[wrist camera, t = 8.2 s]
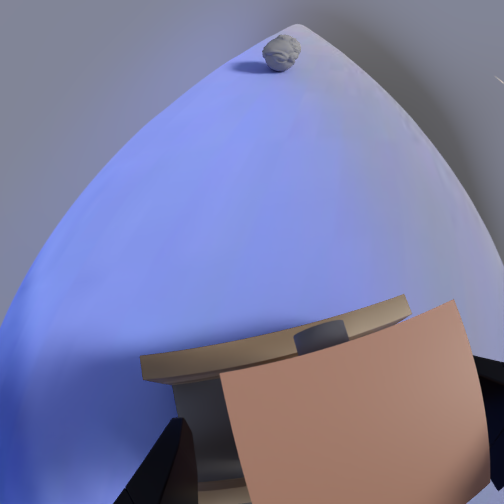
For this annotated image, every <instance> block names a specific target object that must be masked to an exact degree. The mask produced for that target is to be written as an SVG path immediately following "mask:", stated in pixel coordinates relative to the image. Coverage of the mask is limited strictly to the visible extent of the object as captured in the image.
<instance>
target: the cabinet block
mask: <svg viewBox="0 0 504 504" xmlns="http://www.w3.org/2000/svg"><path fill="white" fill-rule="evenodd" d="M293 338H294V342H295V345H296V349H297V353H298V356H297V357H293V358H289V359H285V360H281V361H277V362H273V363H269V364H264V365H260V366H255V367H250V368H245V369H240V370H235V371H230V372H224V373H220V378H221V383H222V387H223V392H224V397H225V401H226V406H227V410H228V414H229V419H230V423H231V427H232V431H233V435H234V439H235V443H236V447H237V451H238V455H239V459H240V463H241V466H242V470H243V474H244V477H245V481H246V484H247V488H248V491H249V495H250V498H251V501H252V504H466V503H467V502H468V501H470V500H471V499H472V498H473V497H474V496H476V495H477V494H478V493H479V492H480V491H481V490H482V489H484V488H485V487H486V486H487V485H488V484H489V483H490V452H489V439H488V429H487V421H486V414H485V408H484V402H483V397H482V392H481V387H480V382H479V378H478V374H477V369H476V365H475V362H474V358H473V354H472V351H471V347H470V344H469V341H468V338H467V334H466V331H465V328H464V325H463V323H462V320H461V317H460V314H459V311H458V309H457V306H456V303H455V301H454V299H453V300H451V301H449V302H447V303H445V304H442V305H440V306H438V307H436V308H434V309H432V310H429V311H427V312H425V313H422V314H420V315H418V316H415V317H413V318H411V319H408V320H406V321H403V322H401V323H398V324H396V325H393V326H391V327H388V328H385V329H383V330H380V331H377V332H375V333H372V334H369V335H366V336H363V337H360V338H357V339H354V340H351V341H350V340H349V337H348V334H347V331H346V328H345V325H344V321H343V320H334V321H330V322H326V323H322V324H319V325H316V326H313V327H310V328H308V329H305V330H303V331H301V332H299V333H297V334H295V335H294V336H293Z"/></svg>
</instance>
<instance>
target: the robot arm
mask: <svg viewBox="0 0 504 504" xmlns="http://www.w3.org/2000/svg"><path fill="white" fill-rule="evenodd" d="M473 358H474V362H475V365H476V369H477V374H478V378H479V382H480V387H481V392H482V397H483V402H484V408H485V414H486V421H487V429H488V439H489V452H490V479H491V481H492V482H493V484H494V486H495V487H496V489H497V490H498V491H499V490H501V489H502V488H503V487H504V362H499V361H495V360H491V359H486V358H482V357H478V356H474V355H473ZM113 504H198V472H197V464H196V457H195V449H194V441H193V434H192V431H191V429H190V427H189V425H188V424H187V422H186V420H185V418H183V417H179V418H172V419H171V420H170V422H169V424H168V425H167V427H166V428H165V430H164V431H163V433H162V434H161V436H160V437H159V439H158V440H157V441H156V443H155V444H154V446H153V447H152V449H151V450H150V452H149V453H148V455H147V456H146V458H145V459H144V461H143V462H142V464H141V465H140V467H139V468H138V469H137V471H136V472H135V474H134V475H133V477H132V478H131V480H130V481H129V482H128V484H127V485H126V488H124V489H123V491H122V492H121V494H120V495H119V496H118V498H117V499H116V500H115V502H114V503H113Z"/></svg>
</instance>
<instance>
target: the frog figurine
mask: <svg viewBox="0 0 504 504" xmlns="http://www.w3.org/2000/svg"><path fill="white" fill-rule="evenodd" d="M262 52H263V58H265V61H266V63H267V65H268V66H269V67H270V68H271V69H273V70H276V71H285V70H288V69H289V68H290V67H291V66H292V65H294V63H295V59H297V58H298V55H299V54H300V52H301V46H300V43H299V42H298V41H297V40H296V39H295V38H293V37H291V36H288V35H279V36H278V37H277V38H275V39H273V40H271V41H270V42H269V43H268V44H267V45H266V46H265V47H264V50H263V51H262Z"/></svg>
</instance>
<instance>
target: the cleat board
mask: <svg viewBox="0 0 504 504" xmlns="http://www.w3.org/2000/svg"><path fill="white" fill-rule="evenodd" d="M411 314H412V313H411V310H410V307H409V305H408V302H407V300H406V297H405V295H404V294H403V295H400V296H397V297H394V298H392V299H389V300H386V301H383V302H380V303H377V304H374V305H371V306H368V307H364V308H361V309H358V310H355V311H352V312H348V313H345V314H342V315H338V316H335V317H331V318H328V319H324V320H321V321H317V322H313V323H310V324H306V325H302V326H298V327H294V328H290V329H286V330H282V331H278V332H273V333H269V334H265V335H260V336H256V337H251V338H246V339H242V340H237V341H232V342H226V343H221V344H216V345H210V346H205V347H199V348H193V349H186V350H180V351H173V352H166V353H159V354H151V355H143V356H140V362H141V370H142V377H143V380H146V381H152V382H157V383H163V384H168V385H172V387H173V393H174V398H175V403H176V408H177V413H178V418H179V417H183V418H185V420H186V422H187V424H188V425H189V427H190V429H191V431H192V434H193V441H194V449H195V457H196V464H197V472H198V504H252V501H251V498H250V495H249V491H248V488H247V484H246V481H245V477H244V474H243V470H242V466H241V463H240V459H239V455H238V451H237V447H236V443H235V439H234V435H233V431H232V427H231V423H230V419H229V414H228V410H227V406H226V401H225V397H224V392H223V387H222V383H221V378H220V373H224V372H230V371H235V370H240V369H245V368H250V367H255V366H260V365H264V364H269V363H273V362H277V361H281V360H285V359H289V358H293V357H297V356H298V353H297V349H296V345H295V342H294V338H293V336H294V335H295V334H297V333H299V332H301V331H303V330H305V329H308V328H310V327H313V326H316V325H319V324H322V323H326V322H330V321H334V320H343V321H344V325H345V328H346V331H347V334H348V337H349V340H350V341H351V340H354V339H357V338H360V337H363V336H366V335H369V334H372V333H375V332H377V331H380V330H383V329H385V328H388V327H391V326H393V325H395V324H397V323H398V322H400V321H402V320H403V319H405V318H406V317H408V316H409V315H411Z"/></svg>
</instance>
